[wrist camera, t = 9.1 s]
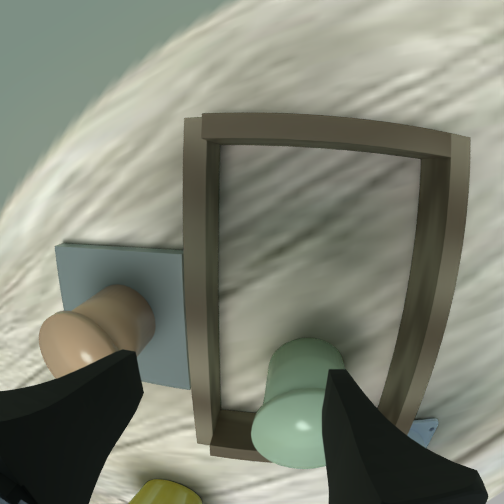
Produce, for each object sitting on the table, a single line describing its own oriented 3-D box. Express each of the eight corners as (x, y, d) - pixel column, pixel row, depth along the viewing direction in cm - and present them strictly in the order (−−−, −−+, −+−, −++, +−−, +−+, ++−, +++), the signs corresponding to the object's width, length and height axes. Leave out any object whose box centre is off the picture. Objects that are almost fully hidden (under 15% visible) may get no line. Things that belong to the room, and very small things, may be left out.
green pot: (341, 403, 21) (351, 468, 15) (260, 399, 22) (249, 465, 16) (355, 334, 20) (376, 395, 14) (264, 329, 21) (252, 391, 14)
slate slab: (193, 382, 22) (189, 390, 21) (82, 359, 23) (76, 365, 22) (186, 250, 20) (181, 254, 19) (62, 243, 21) (54, 246, 20)
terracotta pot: (163, 359, 21) (127, 414, 15) (95, 343, 21) (50, 387, 16) (159, 284, 20) (112, 327, 14) (87, 273, 20) (31, 305, 14)
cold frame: (385, 425, 22) (395, 460, 18) (206, 417, 23) (193, 452, 19) (438, 142, 16) (470, 137, 12) (200, 125, 18) (177, 114, 14)
